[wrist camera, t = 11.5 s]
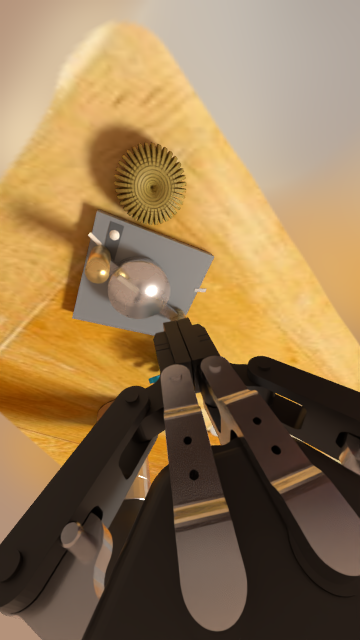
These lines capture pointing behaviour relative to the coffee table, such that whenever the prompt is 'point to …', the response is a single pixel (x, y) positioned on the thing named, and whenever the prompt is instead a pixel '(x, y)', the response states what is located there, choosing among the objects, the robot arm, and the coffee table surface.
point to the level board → (136, 241)
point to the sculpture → (150, 183)
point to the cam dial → (132, 285)
